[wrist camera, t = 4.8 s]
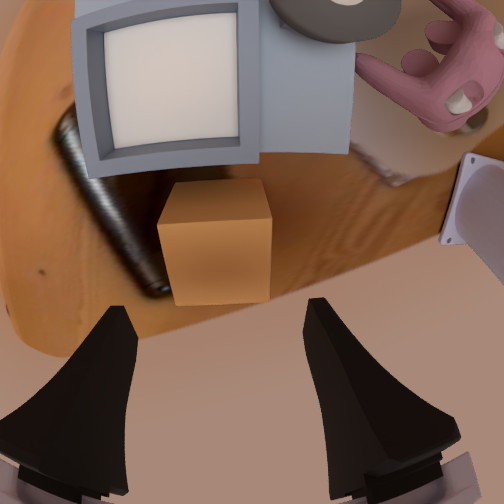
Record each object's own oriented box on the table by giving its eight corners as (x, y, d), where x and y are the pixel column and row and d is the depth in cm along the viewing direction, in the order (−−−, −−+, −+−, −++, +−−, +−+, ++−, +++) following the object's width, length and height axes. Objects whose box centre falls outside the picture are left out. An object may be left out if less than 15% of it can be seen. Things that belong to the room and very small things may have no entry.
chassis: (343, -26, 9) (369, -43, 6) (338, 147, 15) (363, 166, 12) (88, -9, 8) (57, -21, 5) (100, 160, 14) (73, 182, 12)
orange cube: (260, 177, 16) (272, 218, 12) (260, 248, 19) (269, 301, 15) (175, 182, 16) (156, 224, 12) (185, 251, 19) (176, 306, 15)
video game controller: (372, 101, 15) (461, 162, 11) (334, 60, 12) (447, 118, 8) (438, 13, 10) (525, 53, 6) (413, -34, 7) (517, -1, 3)
